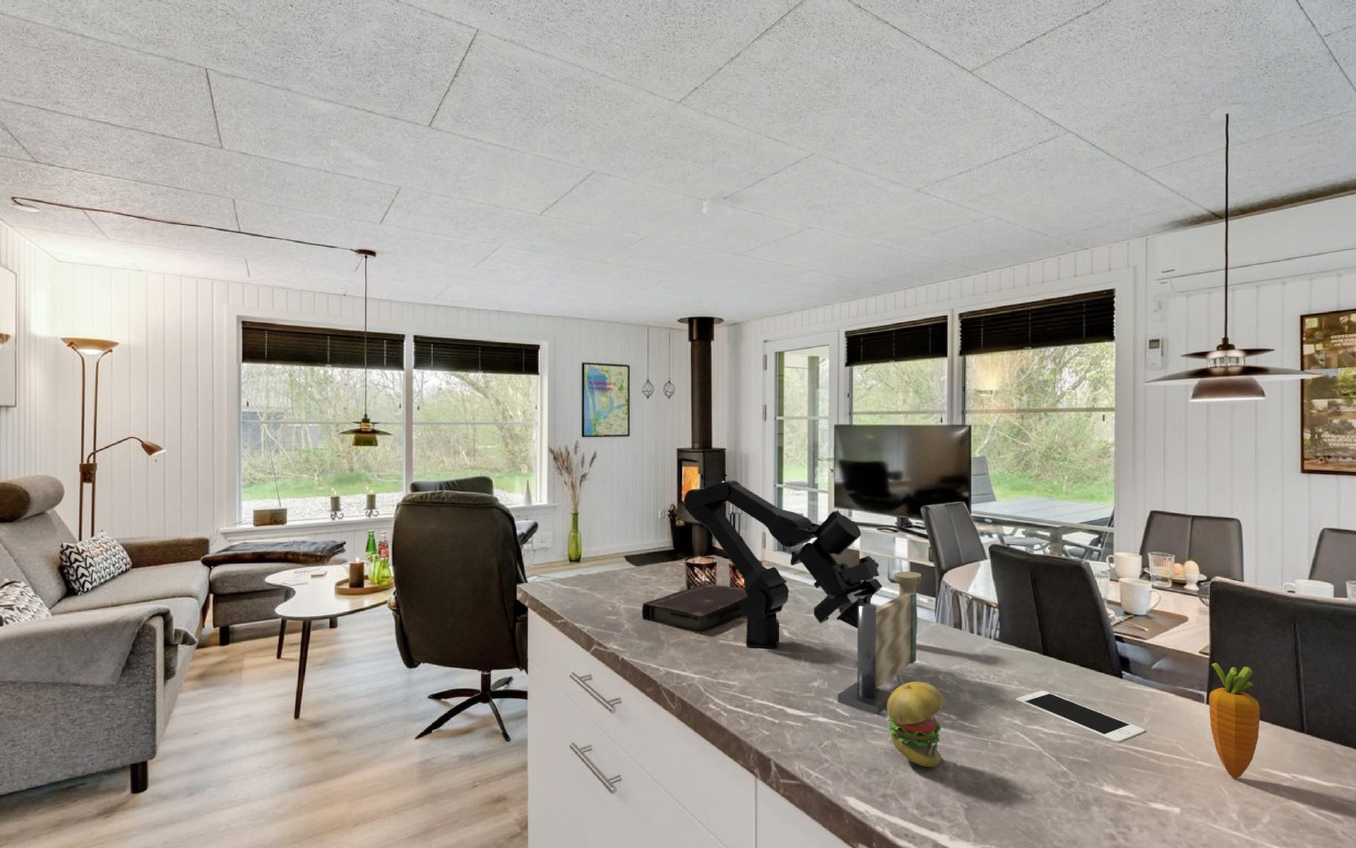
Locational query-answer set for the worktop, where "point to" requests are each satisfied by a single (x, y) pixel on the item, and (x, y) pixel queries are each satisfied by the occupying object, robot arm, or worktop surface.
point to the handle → (908, 583)
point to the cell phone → (1081, 716)
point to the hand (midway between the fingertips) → (879, 637)
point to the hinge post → (866, 667)
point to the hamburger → (915, 722)
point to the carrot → (1234, 720)
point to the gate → (895, 636)
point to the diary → (697, 607)
